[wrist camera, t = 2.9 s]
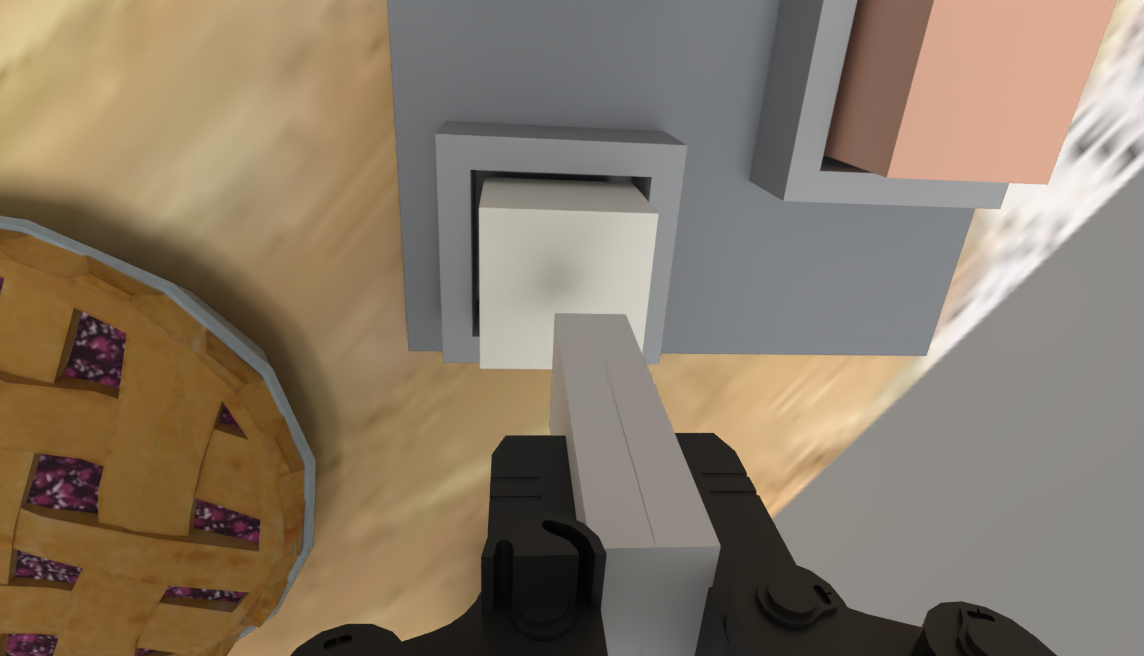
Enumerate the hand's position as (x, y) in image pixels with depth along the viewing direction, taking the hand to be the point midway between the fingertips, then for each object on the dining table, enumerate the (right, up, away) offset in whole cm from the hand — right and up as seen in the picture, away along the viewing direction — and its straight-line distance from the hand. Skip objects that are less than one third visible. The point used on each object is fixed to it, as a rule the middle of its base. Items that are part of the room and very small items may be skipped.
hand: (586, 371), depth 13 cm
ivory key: (-1, +4, +8) cm, 9 cm away
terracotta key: (+10, +9, +6) cm, 15 cm away
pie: (-22, -4, +13) cm, 26 cm away
